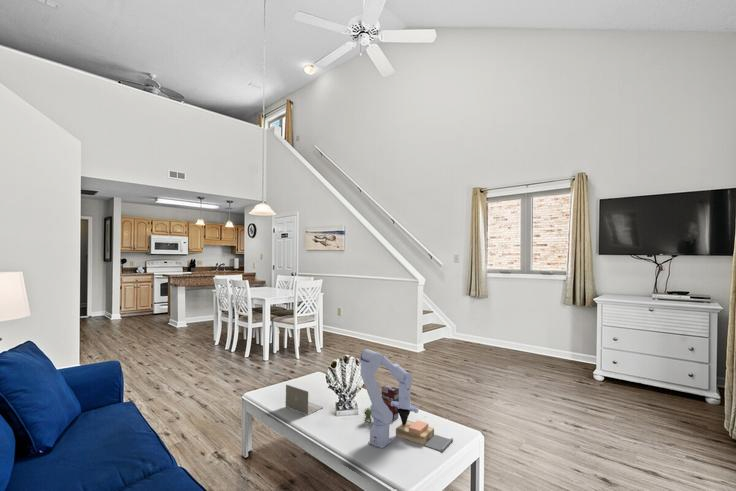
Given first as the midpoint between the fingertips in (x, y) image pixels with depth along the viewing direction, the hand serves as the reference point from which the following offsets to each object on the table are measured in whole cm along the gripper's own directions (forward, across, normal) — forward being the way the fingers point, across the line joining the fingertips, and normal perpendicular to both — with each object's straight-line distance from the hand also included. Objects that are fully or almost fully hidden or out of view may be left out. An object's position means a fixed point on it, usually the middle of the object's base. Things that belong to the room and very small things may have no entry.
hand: (404, 423), depth 182 cm
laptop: (+5, +60, +8) cm, 61 cm away
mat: (+4, -18, 0) cm, 19 cm away
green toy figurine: (+4, +20, +2) cm, 21 cm away
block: (+1, -8, 0) cm, 8 cm away
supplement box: (+4, +14, -10) cm, 18 cm away
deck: (+4, -6, 0) cm, 7 cm away
